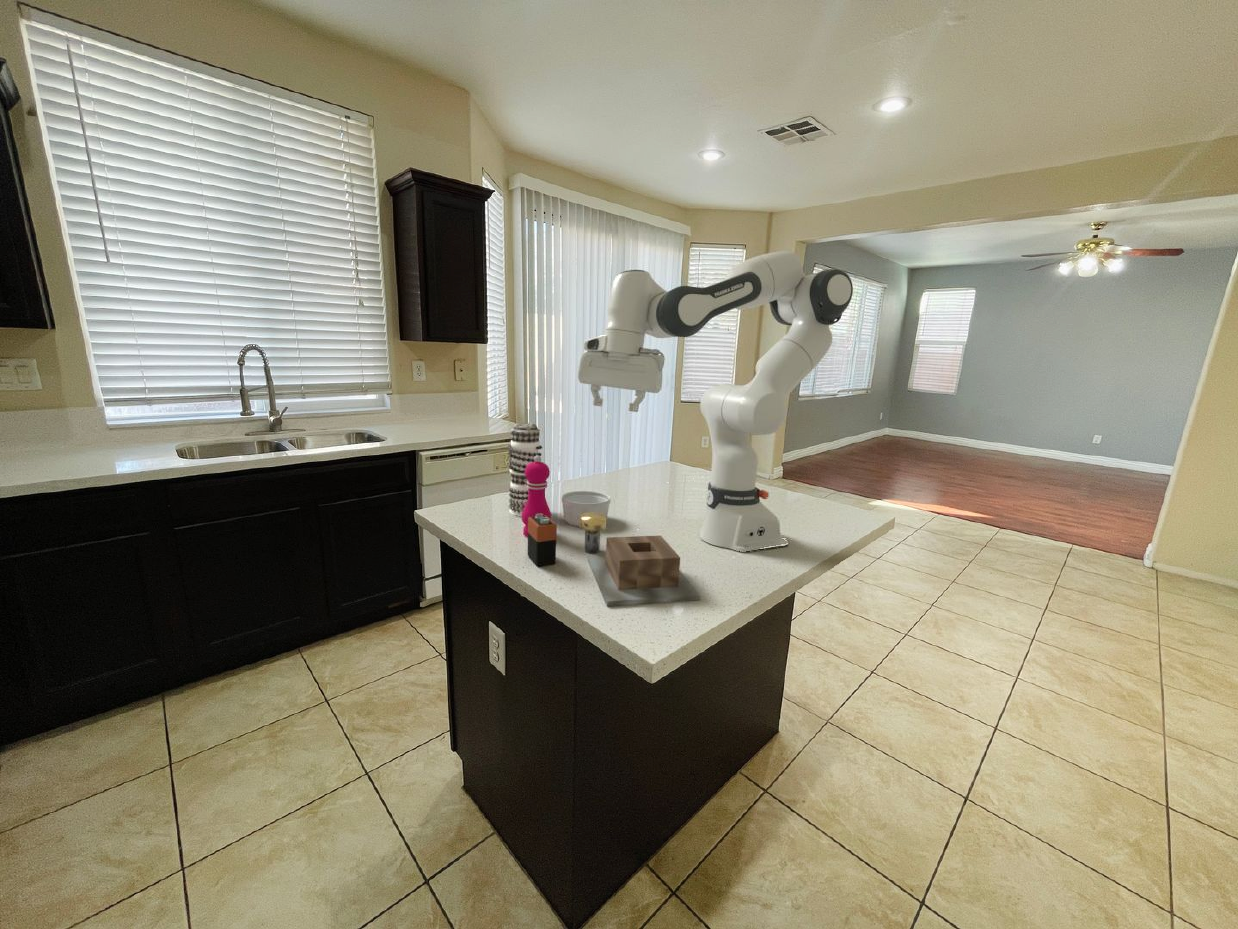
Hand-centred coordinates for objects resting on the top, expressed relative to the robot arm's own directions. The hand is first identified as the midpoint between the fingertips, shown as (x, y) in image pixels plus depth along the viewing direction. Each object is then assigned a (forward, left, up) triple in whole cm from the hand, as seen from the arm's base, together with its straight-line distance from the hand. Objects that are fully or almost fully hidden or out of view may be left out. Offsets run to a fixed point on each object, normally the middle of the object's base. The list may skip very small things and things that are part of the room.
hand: (615, 408), depth 110 cm
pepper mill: (+16, -9, -33) cm, 38 cm away
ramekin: (+2, -18, -33) cm, 38 cm away
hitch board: (-3, +19, -33) cm, 38 cm away
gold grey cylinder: (+4, +3, -33) cm, 33 cm away
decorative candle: (+18, -27, -33) cm, 46 cm away
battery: (+16, +7, -33) cm, 37 cm away
